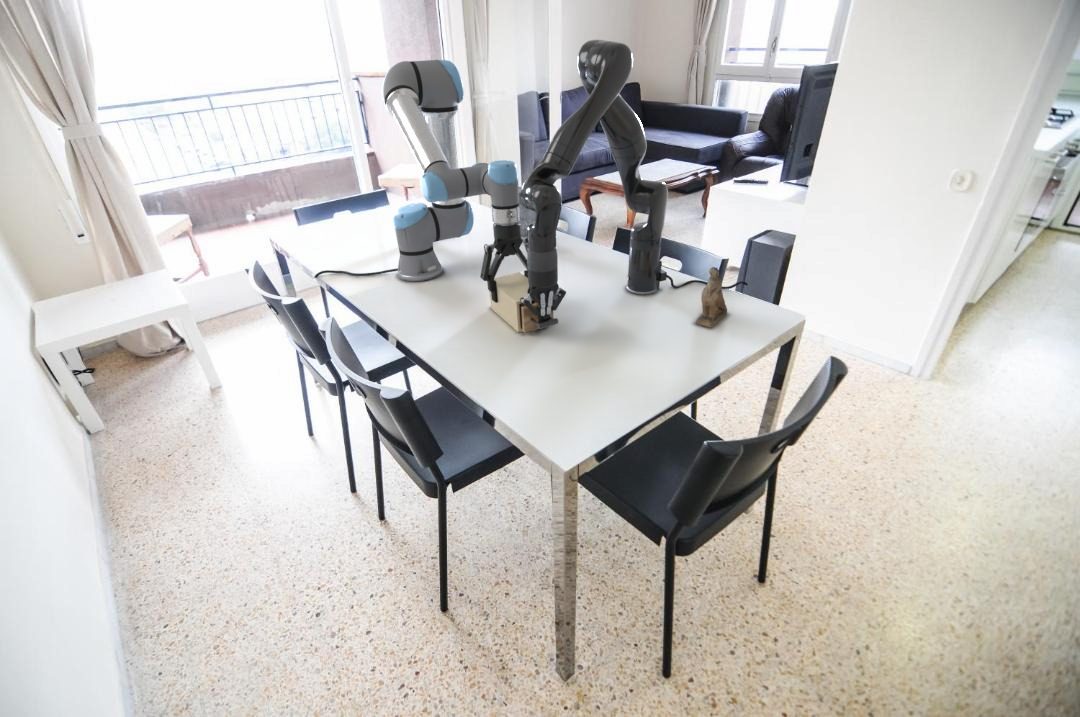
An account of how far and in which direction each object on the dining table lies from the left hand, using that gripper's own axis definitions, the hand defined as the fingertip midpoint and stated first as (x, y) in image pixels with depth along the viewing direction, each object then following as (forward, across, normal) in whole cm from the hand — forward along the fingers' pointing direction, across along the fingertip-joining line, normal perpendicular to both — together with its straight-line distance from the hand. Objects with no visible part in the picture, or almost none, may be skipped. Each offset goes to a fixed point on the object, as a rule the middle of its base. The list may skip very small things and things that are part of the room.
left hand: (511, 296), depth 147 cm
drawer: (+3, 0, -11) cm, 11 cm away
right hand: (+1, 0, -20) cm, 20 cm away
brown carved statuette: (+4, +45, -36) cm, 58 cm away
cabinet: (+4, 0, -5) cm, 6 cm away
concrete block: (+4, +34, +50) cm, 61 cm away
